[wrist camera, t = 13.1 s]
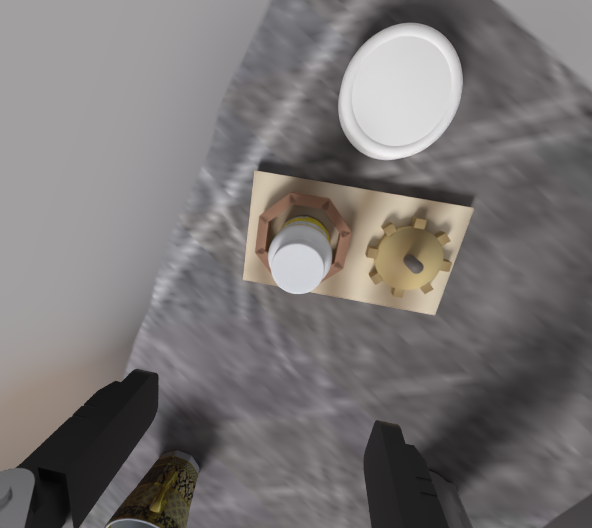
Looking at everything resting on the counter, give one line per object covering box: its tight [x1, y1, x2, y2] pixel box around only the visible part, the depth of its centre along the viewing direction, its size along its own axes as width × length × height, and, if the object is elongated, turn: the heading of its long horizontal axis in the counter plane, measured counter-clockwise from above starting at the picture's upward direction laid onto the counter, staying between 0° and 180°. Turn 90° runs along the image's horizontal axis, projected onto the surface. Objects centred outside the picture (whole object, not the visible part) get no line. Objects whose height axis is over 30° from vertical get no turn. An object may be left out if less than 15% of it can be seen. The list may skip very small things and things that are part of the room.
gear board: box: [243, 171, 474, 315], centre depth 28 cm, size 22×12×5 cm, turn 81°
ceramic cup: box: [105, 450, 199, 528], centre depth 39 cm, size 13×10×10 cm
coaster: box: [338, 23, 463, 160], centre depth 24 cm, size 10×10×4 cm
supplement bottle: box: [268, 215, 332, 294], centre depth 25 cm, size 5×5×10 cm
